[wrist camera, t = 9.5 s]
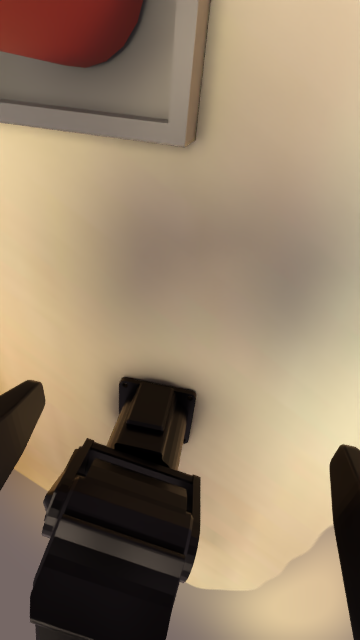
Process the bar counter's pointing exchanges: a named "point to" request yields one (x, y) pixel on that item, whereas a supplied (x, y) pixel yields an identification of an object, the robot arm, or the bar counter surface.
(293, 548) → the bar counter surface
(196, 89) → the tray
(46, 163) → the bar counter surface
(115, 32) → the beer can
